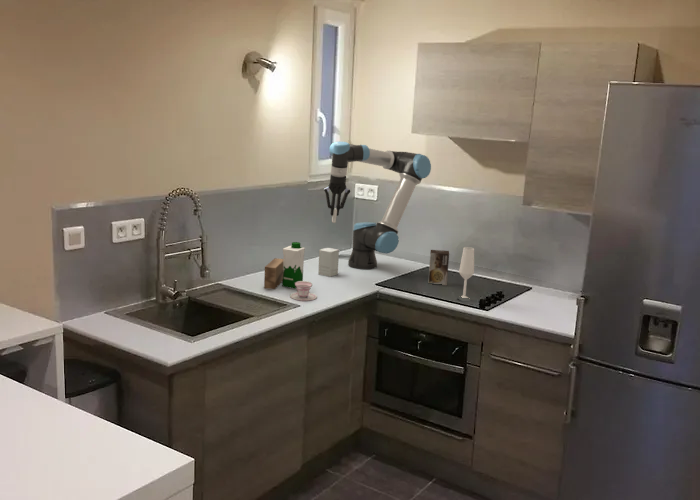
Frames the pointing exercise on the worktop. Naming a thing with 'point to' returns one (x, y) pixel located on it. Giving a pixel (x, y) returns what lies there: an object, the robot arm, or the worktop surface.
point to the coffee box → (438, 267)
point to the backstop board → (273, 273)
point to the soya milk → (293, 265)
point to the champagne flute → (467, 266)
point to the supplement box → (328, 262)
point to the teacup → (303, 291)
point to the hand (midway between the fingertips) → (333, 221)
